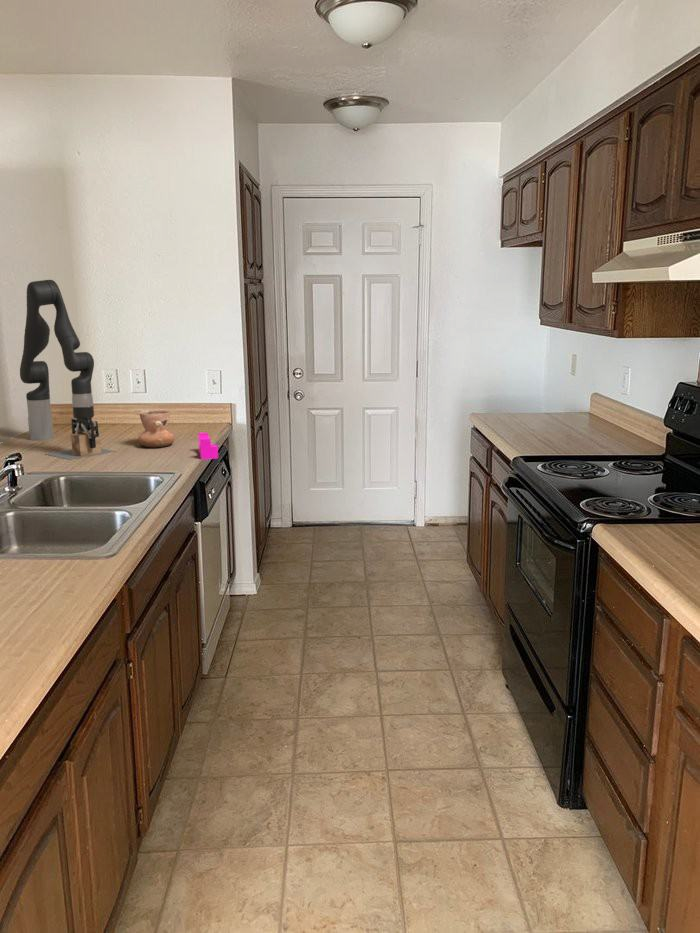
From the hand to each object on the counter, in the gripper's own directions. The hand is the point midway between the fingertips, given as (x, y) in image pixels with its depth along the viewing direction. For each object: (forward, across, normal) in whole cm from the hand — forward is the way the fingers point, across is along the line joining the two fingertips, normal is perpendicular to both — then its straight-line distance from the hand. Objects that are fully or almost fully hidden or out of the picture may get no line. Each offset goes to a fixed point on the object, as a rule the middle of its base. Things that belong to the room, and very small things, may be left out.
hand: (86, 446), depth 286 cm
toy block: (+4, +38, +28) cm, 47 cm away
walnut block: (+3, 0, 0) cm, 3 cm away
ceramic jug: (+3, +8, +27) cm, 29 cm away
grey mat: (+3, -5, 0) cm, 5 cm away
